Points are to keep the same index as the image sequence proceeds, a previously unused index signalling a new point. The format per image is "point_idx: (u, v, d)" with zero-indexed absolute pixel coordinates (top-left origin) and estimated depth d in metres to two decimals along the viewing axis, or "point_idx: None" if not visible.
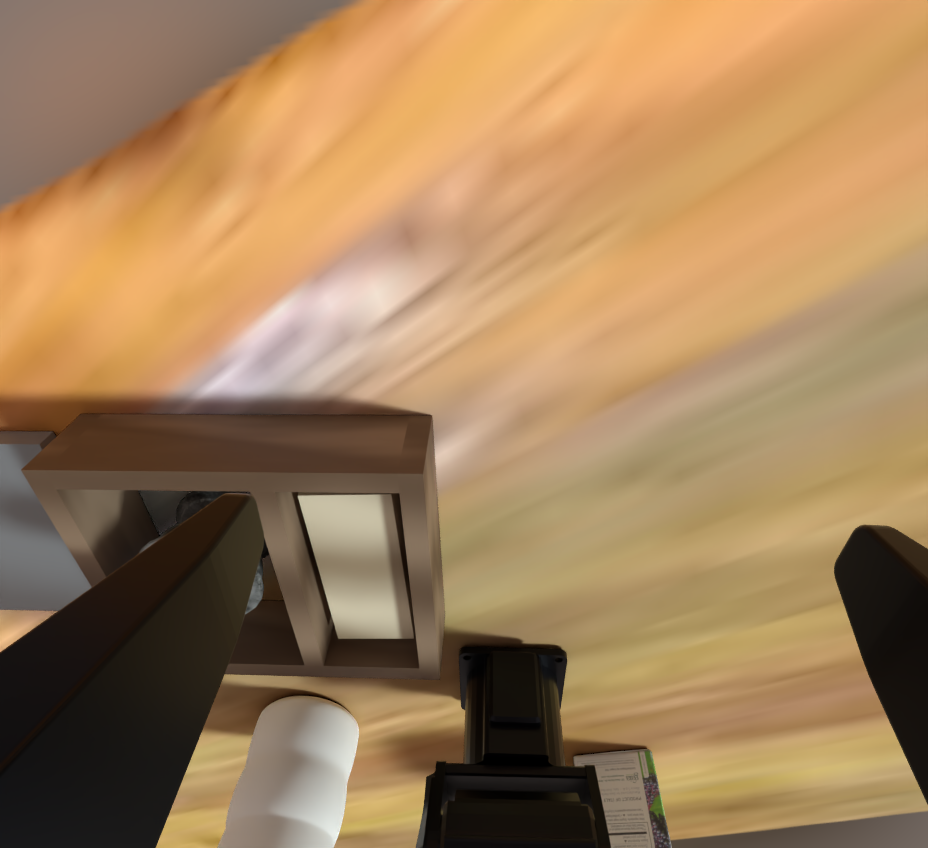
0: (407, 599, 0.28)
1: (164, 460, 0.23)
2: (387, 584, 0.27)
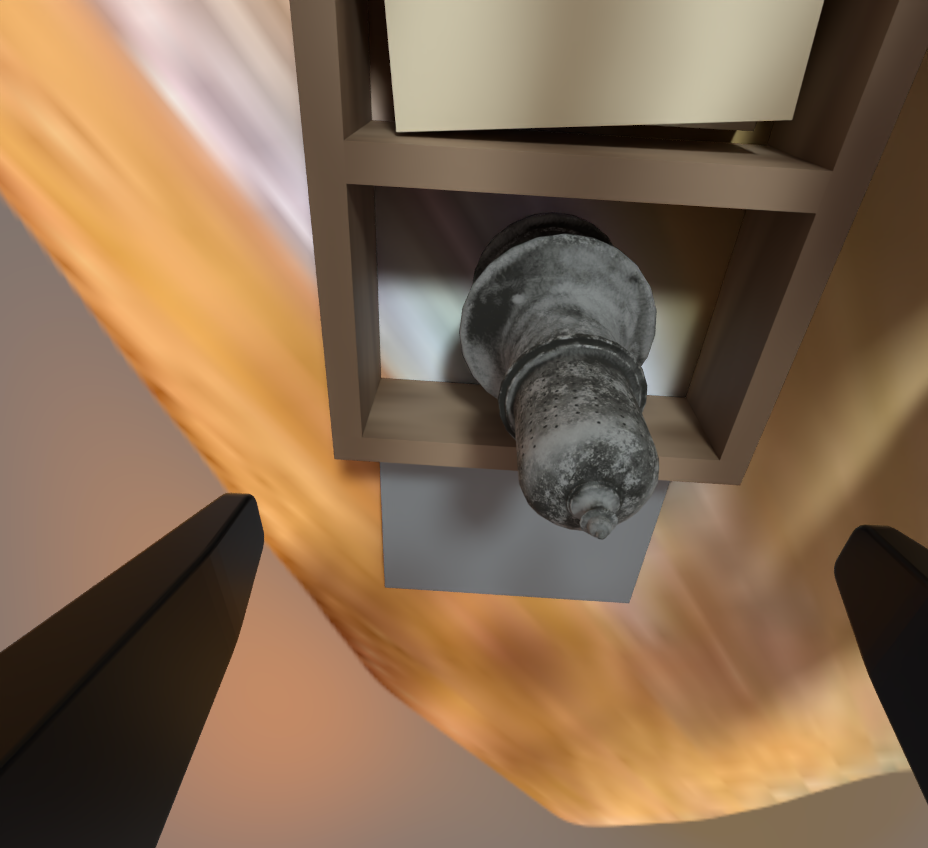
0: None
1: None
2: None
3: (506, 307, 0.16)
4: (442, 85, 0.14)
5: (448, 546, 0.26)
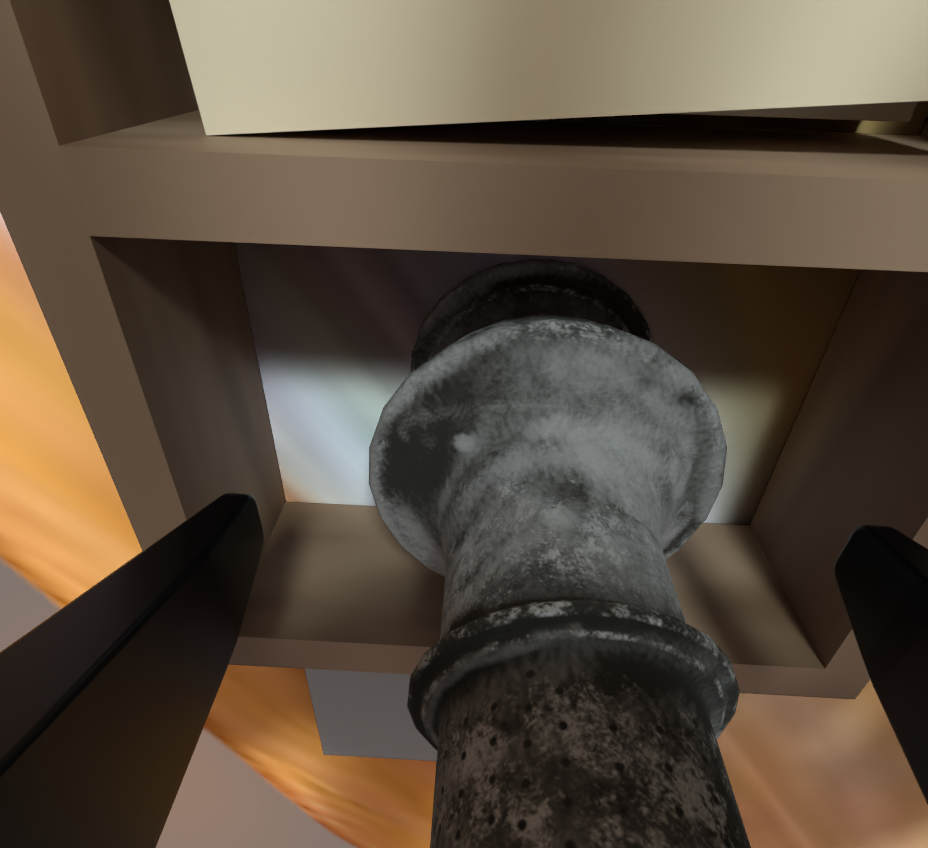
0: None
1: None
2: None
3: (443, 455, 0.08)
4: (284, 34, 0.07)
5: (405, 712, 0.18)
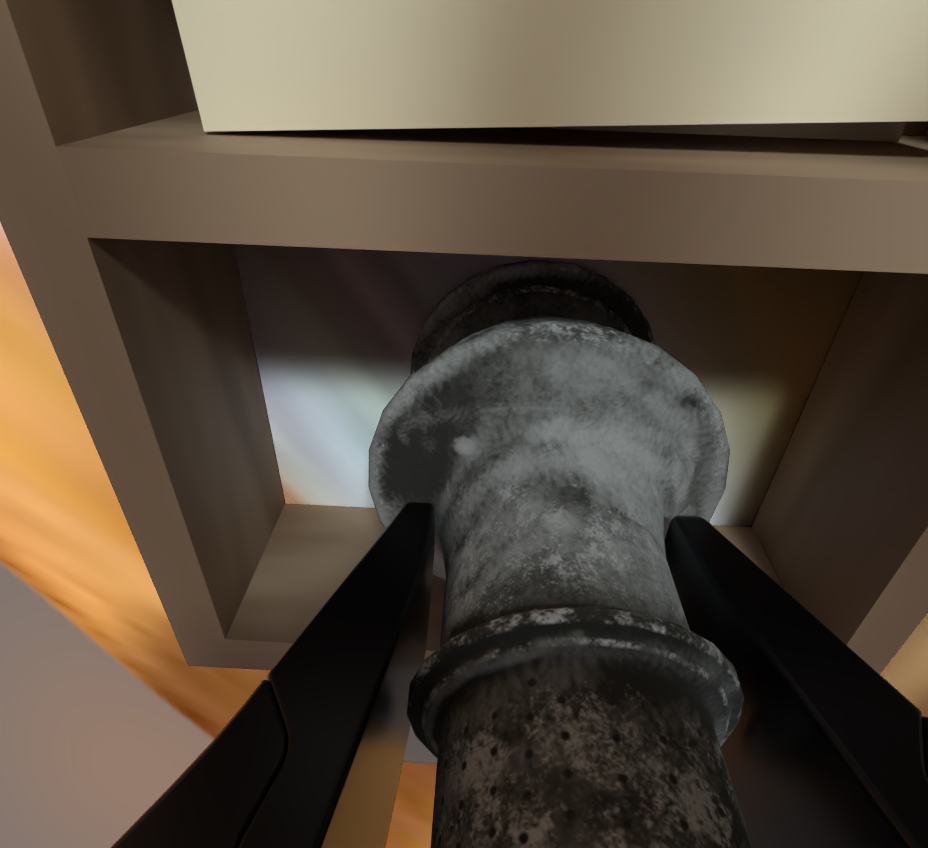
0: None
1: None
2: None
3: (444, 457, 0.08)
4: (285, 34, 0.07)
5: None
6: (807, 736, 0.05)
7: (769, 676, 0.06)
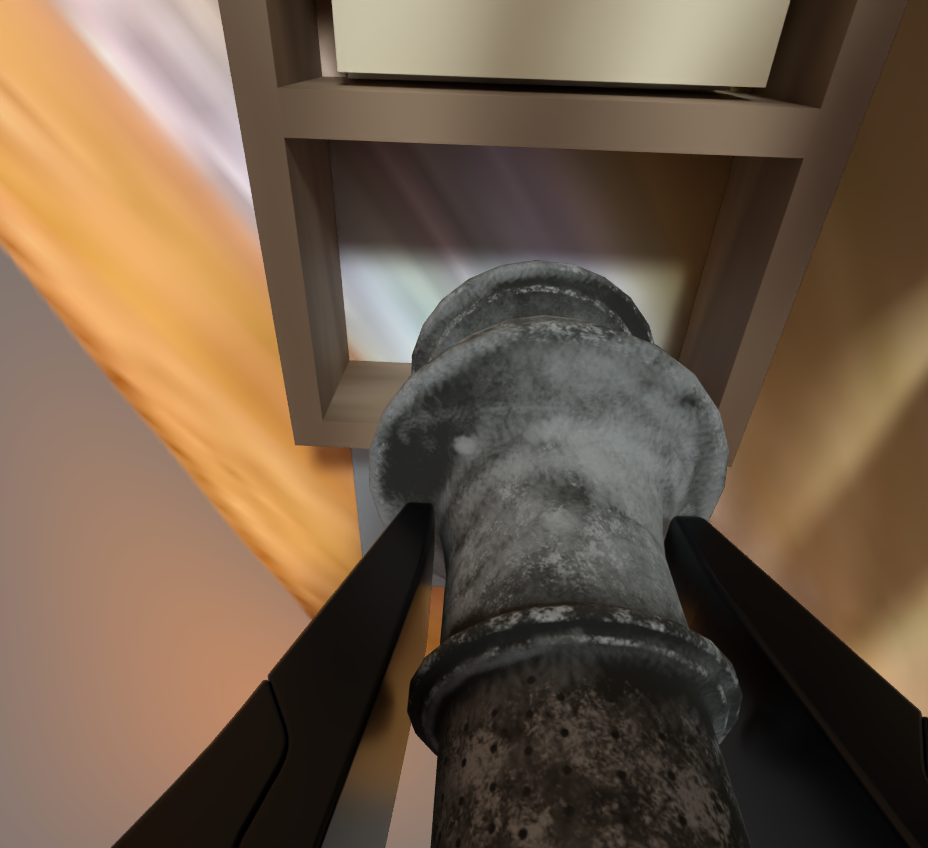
0: None
1: None
2: None
3: (444, 457, 0.08)
4: (388, 21, 0.13)
5: None
6: (807, 736, 0.05)
7: (769, 676, 0.06)
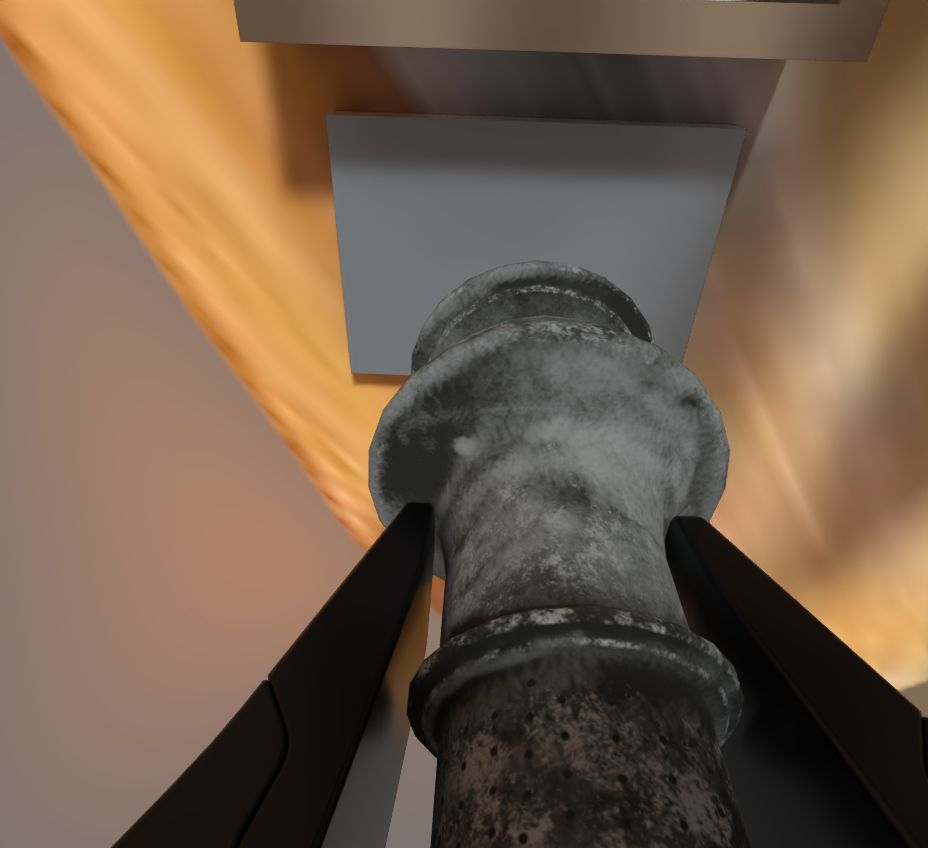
0: None
1: None
2: None
3: (444, 458, 0.08)
4: None
5: (431, 296, 0.19)
6: (807, 736, 0.05)
7: (769, 676, 0.06)
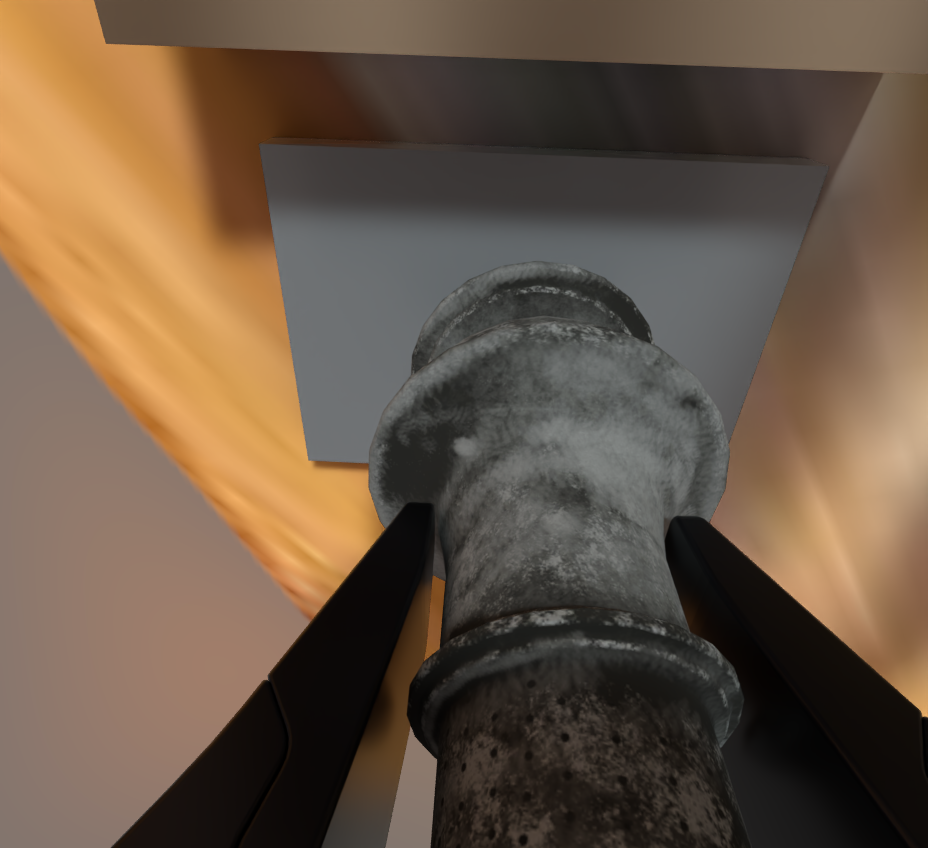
0: None
1: None
2: None
3: (444, 458, 0.08)
4: None
5: (407, 372, 0.15)
6: (807, 736, 0.05)
7: (769, 676, 0.06)
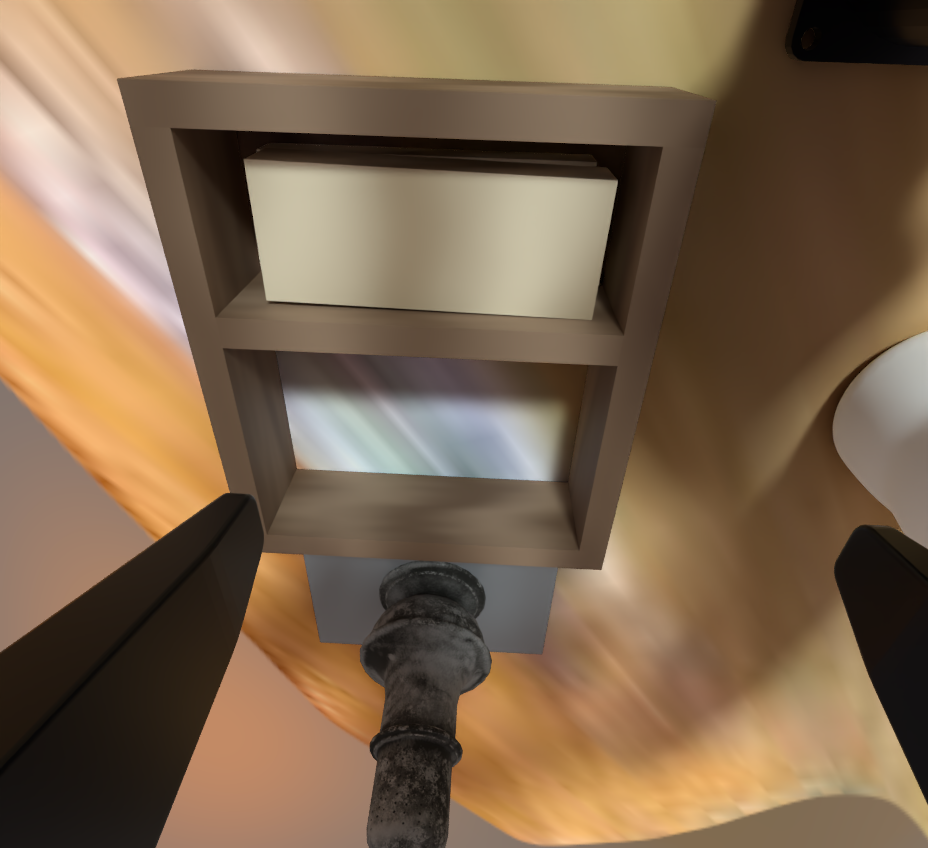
0: (500, 174, 0.15)
1: None
2: (455, 205, 0.16)
3: (385, 659, 0.24)
4: (303, 271, 0.17)
5: (371, 608, 0.29)
6: None
7: None
